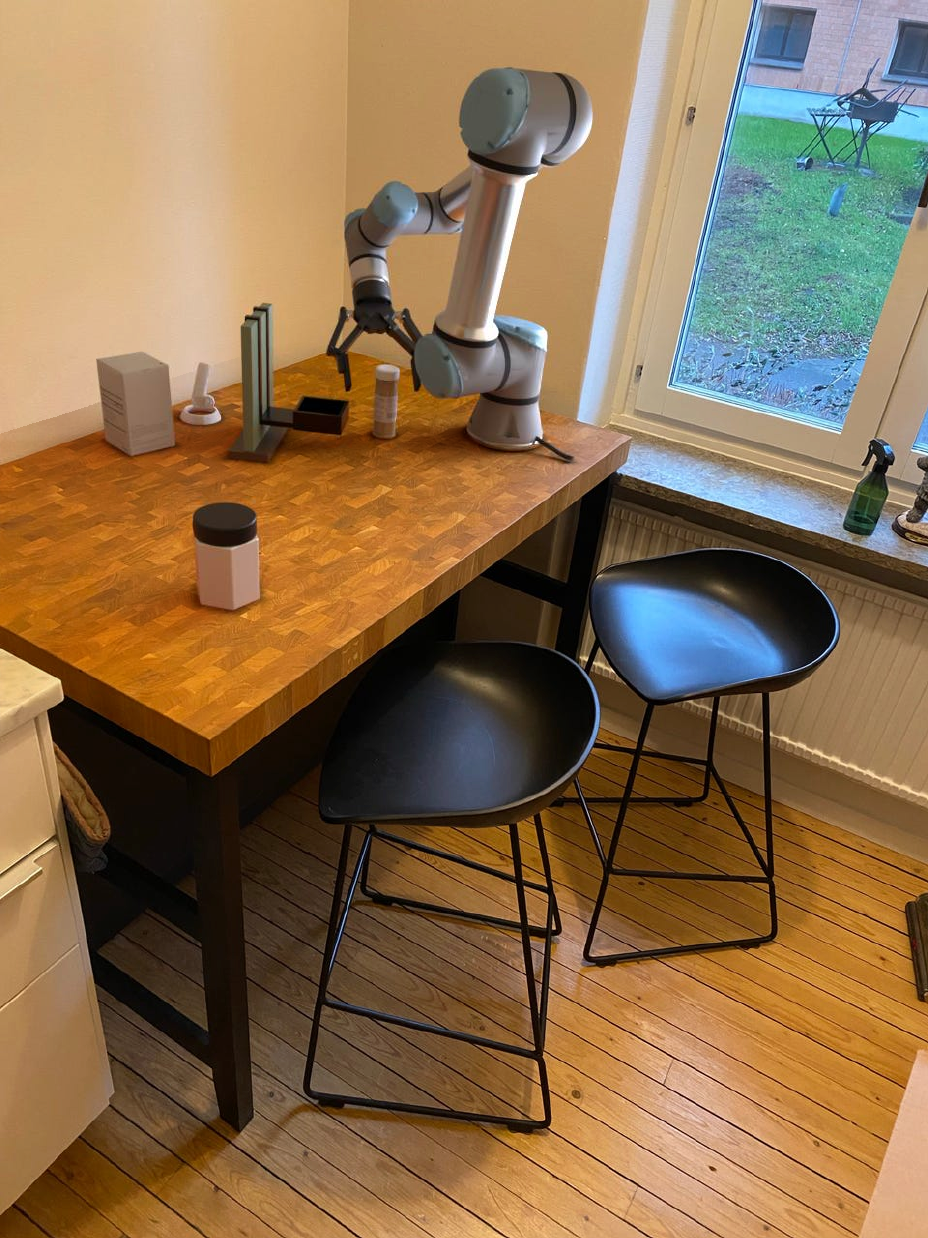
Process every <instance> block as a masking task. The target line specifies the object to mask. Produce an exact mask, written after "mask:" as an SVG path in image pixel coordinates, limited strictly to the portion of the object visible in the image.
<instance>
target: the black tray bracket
mask: <svg viewBox="0 0 928 1238" xmlns="http://www.w3.org/2000/svg"><path fill="white" fill-rule="evenodd" d="M256 310H257V311H266V373H267V409H266V410H265V412H264V413H263V415H262V356H261V316H252V314H253V313H254V312H255V311H256ZM252 314H245V316H244V322H245V321H246V320H247V319H250V320H258V373H259V425H268V426H277V427H286V428H288V429H292V431H299V432H306V433H315V434H324V435H331V436H340V437H341V436H342V435H343V432H344V430H345V428H346V426H347V423H348V421H349V413H350V401H349V400H345V399H344V400H343V399H336V398H328V397H319V396H309V395H301V397H300V399H299V401H298V402H297V404H296V405H295V407H294V408H288V407H287V408H286V407H278V406H274V407H270V366H269V308H266V307H259V306H257V305H255V306H253V307H252Z"/></svg>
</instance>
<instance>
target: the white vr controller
mask: <svg viewBox="0 0 928 1238" xmlns="http://www.w3.org/2000/svg"><path fill="white" fill-rule="evenodd" d="M211 369H212V367H211V364H210V363H207V362H203V361H202V362H199V363H198V366H197V370H196V373H195V374H196V375H195V380H194V385H193V390H192V393H191V399H190V403H191V404H188V405H186V406H184V407H183V408H182V410H181V413H180V416H179V419H180V420H181V421H182V422H184V423H186V424H190V425H196V426H206V425H213V424H216V423H218V422H220V421H221V420H222V415H221V413H220V411H219V410H218V408H217V407H216V406H215V402H216V401H215V398H214V396H213V395H210V394H208V393H207V389H208V382H209V378H210V375H211ZM193 412H206V413H207V414H193Z"/></svg>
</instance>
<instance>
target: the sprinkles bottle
mask: <svg viewBox="0 0 928 1238" xmlns="http://www.w3.org/2000/svg"><path fill="white" fill-rule="evenodd" d="M400 370H401V369H400V367H398V366H396V365H392V364H378V365H376V367H375V371H374V377H375V378H374V379H375V389H374V398H373V399H374V400H373V425H372V426H373V429H372V435H373V436H374V437H376V438H379V439H385V440H388V439H392V438H394V437H396V423H397V422H396V421H397V414H398V413H397V412H398V397H399V394H398V393H399V391H398V388H399V381H400V380H399V379H400V373H401V371H400Z"/></svg>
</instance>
